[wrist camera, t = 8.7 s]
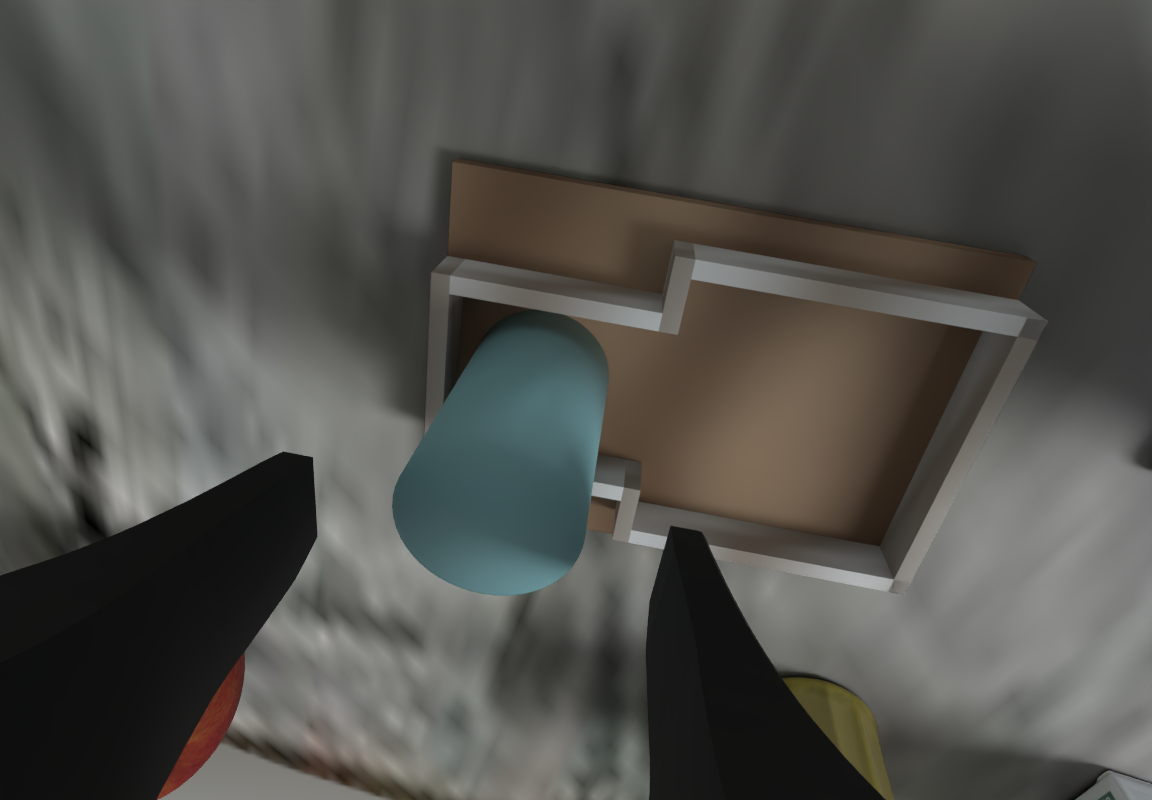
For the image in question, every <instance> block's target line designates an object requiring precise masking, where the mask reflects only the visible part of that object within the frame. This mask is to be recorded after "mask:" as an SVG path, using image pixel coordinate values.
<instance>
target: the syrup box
mask: <svg viewBox="0 0 1152 800" xmlns="http://www.w3.org/2000/svg"><path fill="white" fill-rule="evenodd" d="M1075 800H1152V784H1151V783H1148V782H1144V781H1141V780H1138V779H1135V778H1132V777H1129V776H1125V775H1122V774H1118V773H1115V772H1113V771H1106V772H1104V773H1103V774H1102V775H1101V776H1099V777H1098V779H1097V783H1096V784H1095V785H1094V786H1092V787H1091V788H1090V789H1088V790H1087V791H1086V792H1085V793H1083V794H1082V795H1081V796H1079V797H1078V798H1076V799H1075Z"/></svg>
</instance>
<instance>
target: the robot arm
mask: <svg viewBox="0 0 1152 800" xmlns="http://www.w3.org/2000/svg"><path fill="white" fill-rule="evenodd" d="M316 538H317V521H316V504H315V487H314V470H313V457H309V456H303V455H298V454H293V453H288V452H282V453H279V454H277V455H275V456H273V457H271V458H269V459H267V460H265V461H263V462H261V463H259V464H257V465H255V466H254V467H252V468H250V469H248V470H246V471H244V472H242V473H240V474H238V475H237V476H235V477H233V478H231V479H229V480H227V481H225V482H223V483H221V484H220V485H218V486H216V487H214V488H212V489H210V490H208V491H206V492H204V493H202V494H200V495H198V496H196V497H195V498H193V499H191V500H189V501H187V502H185V503H183V504H181V505H178V506H176V507H174V508H172V509H170V510H168V511H166V512H164V513H161V514H159V515H157V516H155V517H153V518H151V519H149V520H147V521H145V522H142V523H140V524H138V525H136V526H134V527H132V528H129V529H127V530H125V531H123V532H120V533H118V534H115V535H113V536H111V537H108V538H106V539H103V540H101V541H98V542H96V543H93V544H91V545H88V546H85V547H83V548H80V549H78V550H75V551H72V552H70V553H67V554H64V555H62V556H59V557H56V558H53V559H50V560H47V561H44V562H41V563H38V564H35V565H32V566H29V567H25V568H22V569H19V570H16V571H13V572H10V573H7V574H4V575H1V576H0V800H157V798H158V796H159V794H160V792H161V790H162V788H163V787H164V785H165V783H166V781H167V779H168V777H169V775H170V774H171V772H172V770H173V768H174V766H175V764H176V763H177V761H178V759H179V757H180V755H181V753H182V751H183V750H184V748H185V746H186V744H187V742H188V741H189V739H190V737H191V735H192V734H193V732H194V730H195V728H196V727H197V725H198V723H199V721H200V720H201V718H202V716H203V714H204V713H205V711H206V709H207V707H208V706H209V704H210V702H211V700H212V699H213V697H214V695H215V694H216V692H217V691H218V689H219V688H220V686H221V685H222V683H223V682H224V680H225V678H226V677H227V675H228V674H229V673H230V671H231V670H232V668H233V667H234V665H235V664H236V663H237V661H238V660H239V658H240V657H241V656H242V654H243V653H244V651H245V650H246V649H247V647H248V646H249V644H250V643H251V642H252V640H253V639H254V637H255V636H256V635H257V633H258V632H259V630H260V629H261V628H262V626H263V625H264V623H265V622H266V621H267V619H268V618H269V616H270V615H271V614H272V612H273V611H274V609H275V608H276V606H277V605H278V604H279V602H280V601H281V599H282V598H283V596H284V595H285V593H286V592H287V591H288V589H289V588H290V586H291V585H292V583H293V582H294V580H295V579H296V577H297V575H298V573H299V571H300V569H301V567H302V566H303V564H304V562H305V560H306V558H307V556H308V554H309V552H310V550H311V548H312V546H313V544H314V542H315V540H316ZM646 669H647V697H648V722H649V748H650V794H649V800H886V799H885V798H884V797H883V796H882V795H881V794H880V793H879V792H878V791H877V790H876V789H875V788H874V787H873V786H872V785H871V784H870V783H869V782H868V781H867V780H866V779H865V778H864V777H863V776H862V775H861V774H860V773H859V772H858V771H857V770H856V768H855V767H854V766H853V765H852V764H851V763H850V762H849V761H848V760H847V759H846V758H845V757H844V755H843V754H842V753H841V752H840V751H839V750H838V748H837V747H836V746H835V745H834V744H833V743H832V741H831V740H830V739H829V738H828V737H827V736H826V734H825V733H824V732H823V731H822V730H821V729H820V727H819V726H818V725H817V724H816V723H815V722H814V721H813V719H812V718H811V717H810V715H809V714H808V713H807V712H806V710H805V709H804V708H803V706H802V705H801V704H800V703H799V701H798V700H797V699H796V697H795V696H794V694H793V693H792V692H791V690H790V689H789V687H788V686H787V685H786V683H785V682H784V681H783V679H782V678H781V676H780V675H779V673H778V672H777V670H776V669H775V667H774V666H773V664H772V663H771V661H770V660H769V658H768V657H767V655H766V653H765V652H764V650H763V648H762V647H761V645H760V644H759V642H758V640H757V639H756V637H755V635H754V634H753V632H752V630H751V629H750V627H749V625H748V623H747V622H746V620H745V618H744V616H743V614H742V612H741V611H740V609H739V607H738V605H737V603H736V601H735V599H734V598H733V596H732V594H731V592H730V590H729V588H728V586H727V584H726V582H725V580H724V578H723V576H722V574H721V571H720V569H719V567H718V565H717V563H716V561H715V558H714V556H713V554H712V552H711V549H710V547H709V545H708V542H707V540H706V537H705V536H704V534H703V533H702V531H697V530H692V529H687V528H681V527H676V526H671V525H670V529H669V533H668V536H667V540H666V544H665V547H664V551H663V554H662V558H661V562H660V565H659V569H658V573H657V576H656V580H655V584H654V587H653V591H652V595H651V598H650V604H649V615H648V627H647V641H646Z"/></svg>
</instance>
